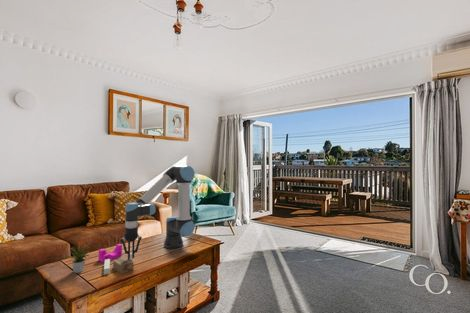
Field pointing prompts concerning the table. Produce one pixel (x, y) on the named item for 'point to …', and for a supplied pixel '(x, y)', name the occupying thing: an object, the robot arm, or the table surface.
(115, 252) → the magenta arch bracket
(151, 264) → the table surface
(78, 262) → the house plant
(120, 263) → the walnut block
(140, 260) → the table surface
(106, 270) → the board
